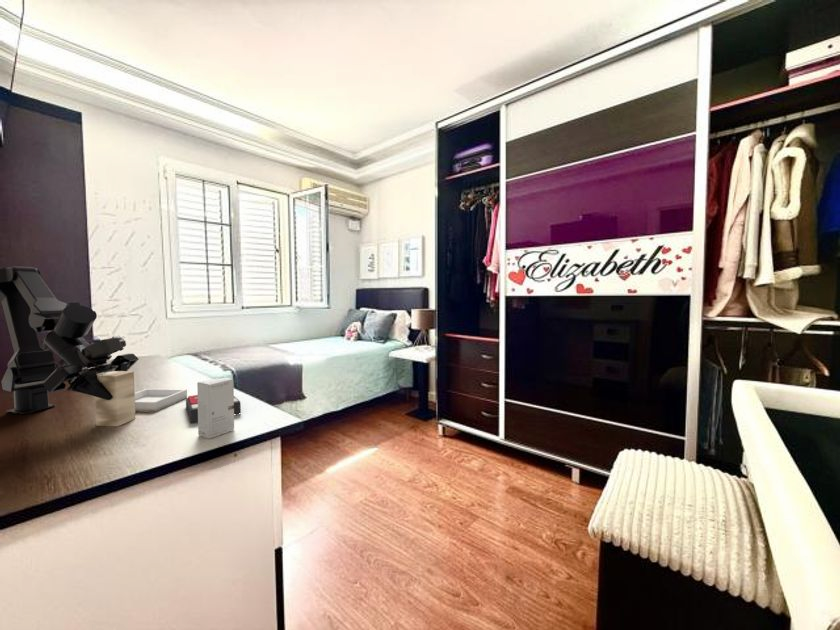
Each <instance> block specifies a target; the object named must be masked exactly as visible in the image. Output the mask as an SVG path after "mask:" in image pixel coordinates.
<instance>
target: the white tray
mask: <svg viewBox="0 0 840 630" xmlns="http://www.w3.org/2000/svg"><path fill="white" fill-rule="evenodd" d="M186 398H188V390H187V389H183V388H182V389H181V388H180V389H179V388H178V389H175V388H173V389H172V388H171V389H169V388H145V389H142V390H139V391H136V392H135V412H147V413H148V412H150V413H151V412H152V413H153V412H155V413H156V412H157V411H158V412H159V411H160V410H163V409H164V408H167V407H169V406H171V405H174V404H176V403H179V402H181V401H182V400H186Z"/></svg>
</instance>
